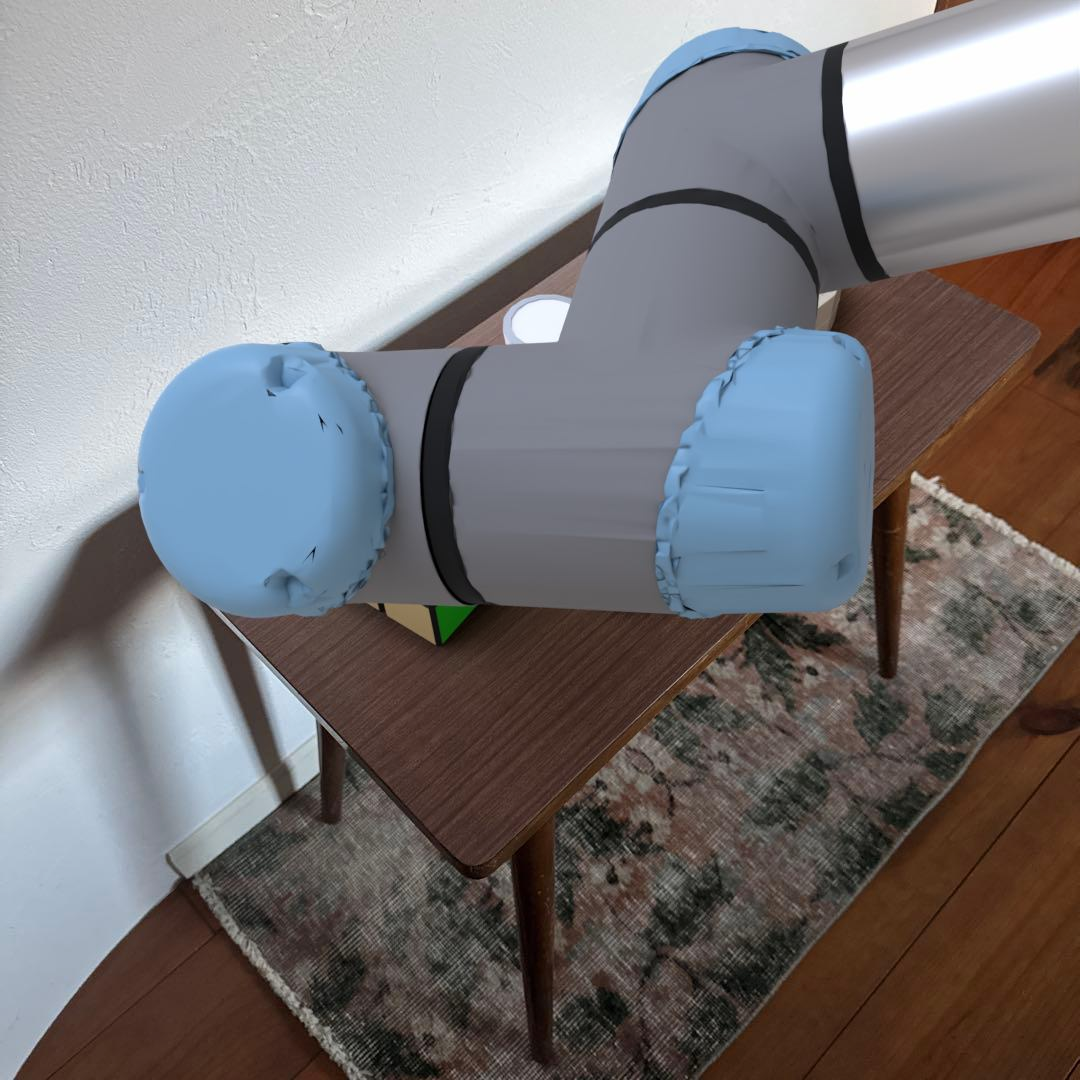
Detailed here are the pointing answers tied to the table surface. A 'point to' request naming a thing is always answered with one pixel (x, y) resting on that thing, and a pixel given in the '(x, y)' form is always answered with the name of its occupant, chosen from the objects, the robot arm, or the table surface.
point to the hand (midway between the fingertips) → (615, 466)
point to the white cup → (536, 319)
